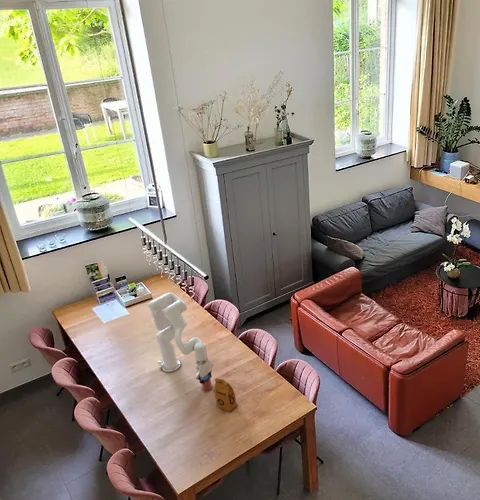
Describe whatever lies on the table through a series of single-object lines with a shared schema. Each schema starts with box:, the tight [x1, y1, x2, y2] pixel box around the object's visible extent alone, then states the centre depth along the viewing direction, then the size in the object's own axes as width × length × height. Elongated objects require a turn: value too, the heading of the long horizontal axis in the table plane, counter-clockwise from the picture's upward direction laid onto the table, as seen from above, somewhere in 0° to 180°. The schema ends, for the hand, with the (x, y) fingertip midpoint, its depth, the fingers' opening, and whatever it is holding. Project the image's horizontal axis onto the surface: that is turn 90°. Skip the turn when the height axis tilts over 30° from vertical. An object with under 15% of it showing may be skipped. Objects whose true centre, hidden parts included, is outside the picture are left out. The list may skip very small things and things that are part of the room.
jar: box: [201, 378, 213, 392], centre depth 357 cm, size 6×6×9 cm
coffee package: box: [213, 377, 237, 412], centre depth 339 cm, size 10×12×22 cm
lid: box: [200, 373, 212, 382], centre depth 355 cm, size 7×7×2 cm
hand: (205, 379), depth 356 cm, fingers closed on lid, 6 cm apart
